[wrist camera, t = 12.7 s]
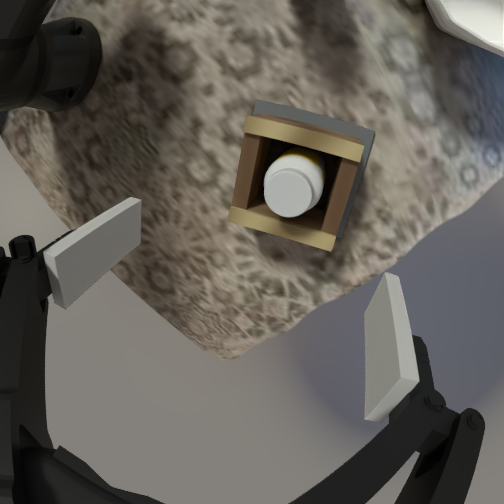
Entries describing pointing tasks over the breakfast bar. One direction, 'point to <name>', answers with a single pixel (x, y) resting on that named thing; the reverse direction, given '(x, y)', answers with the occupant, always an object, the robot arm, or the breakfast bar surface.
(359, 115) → the breakfast bar surface
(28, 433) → the robot arm
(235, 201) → the wooden box
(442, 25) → the bowl
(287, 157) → the supplement bottle
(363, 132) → the flat square frame
